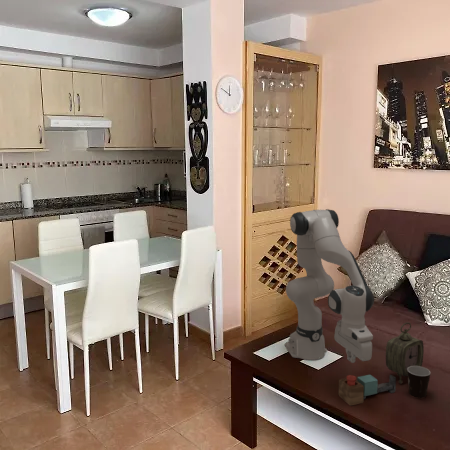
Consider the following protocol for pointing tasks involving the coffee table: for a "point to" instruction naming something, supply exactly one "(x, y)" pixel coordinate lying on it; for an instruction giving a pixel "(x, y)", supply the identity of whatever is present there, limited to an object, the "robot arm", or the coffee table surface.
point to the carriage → (368, 384)
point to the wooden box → (351, 392)
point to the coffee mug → (418, 381)
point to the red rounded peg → (351, 380)
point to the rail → (387, 386)
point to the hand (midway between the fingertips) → (351, 361)
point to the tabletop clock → (404, 353)
